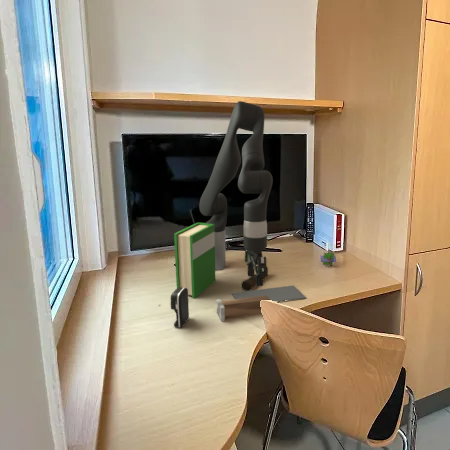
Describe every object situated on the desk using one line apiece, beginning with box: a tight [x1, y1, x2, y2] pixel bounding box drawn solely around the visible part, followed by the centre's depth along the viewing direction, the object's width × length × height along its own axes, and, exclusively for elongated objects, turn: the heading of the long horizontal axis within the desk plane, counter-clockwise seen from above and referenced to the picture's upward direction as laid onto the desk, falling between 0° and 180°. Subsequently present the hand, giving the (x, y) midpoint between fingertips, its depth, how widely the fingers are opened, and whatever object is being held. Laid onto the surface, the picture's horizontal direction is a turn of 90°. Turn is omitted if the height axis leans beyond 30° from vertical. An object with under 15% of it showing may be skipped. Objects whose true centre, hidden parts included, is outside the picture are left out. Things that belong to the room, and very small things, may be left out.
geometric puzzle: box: [320, 250, 337, 268], centre depth 163 cm, size 7×7×8 cm
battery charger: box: [170, 287, 190, 328], centre depth 115 cm, size 7×4×11 cm, turn 165°
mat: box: [231, 285, 307, 303], centre depth 134 cm, size 11×25×1 cm, turn 104°
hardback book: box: [173, 222, 216, 299], centre depth 140 cm, size 18×7×24 cm, turn 155°
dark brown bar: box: [241, 265, 269, 291], centre depth 146 cm, size 19×4×5 cm, turn 145°
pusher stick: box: [216, 295, 270, 323], centre depth 121 cm, size 6×17×5 cm, turn 104°
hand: (255, 280), depth 120 cm, fingers open, 8 cm apart
